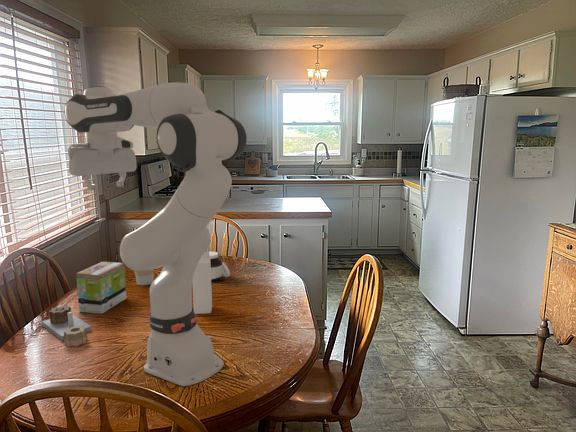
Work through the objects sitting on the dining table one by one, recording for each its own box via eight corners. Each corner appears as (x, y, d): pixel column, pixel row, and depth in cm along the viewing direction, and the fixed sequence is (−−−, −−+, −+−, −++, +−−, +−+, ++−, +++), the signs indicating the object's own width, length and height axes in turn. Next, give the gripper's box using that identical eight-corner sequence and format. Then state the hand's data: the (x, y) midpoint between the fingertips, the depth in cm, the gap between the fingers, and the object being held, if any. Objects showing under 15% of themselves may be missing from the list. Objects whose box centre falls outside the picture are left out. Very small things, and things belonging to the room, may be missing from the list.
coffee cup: (160, 281, 181) (158, 247, 178) (143, 287, 173) (141, 252, 170) (146, 277, 186) (144, 244, 183) (129, 283, 178) (126, 249, 175)
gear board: (91, 330, 136) (89, 311, 134) (62, 340, 129) (60, 321, 128) (70, 316, 146) (68, 299, 145) (42, 325, 139) (40, 307, 138)
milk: (210, 313, 149) (208, 253, 144) (193, 314, 148) (190, 254, 144) (212, 306, 154) (210, 249, 150) (195, 307, 154) (193, 249, 149)
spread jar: (196, 279, 183) (195, 254, 181) (214, 272, 192) (213, 248, 190) (217, 284, 177) (216, 258, 174) (234, 277, 186) (233, 251, 184)
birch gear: (90, 341, 129) (89, 329, 128) (70, 348, 124) (69, 336, 123) (82, 335, 132) (80, 323, 132) (61, 342, 128) (60, 330, 127)
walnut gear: (75, 318, 141) (74, 307, 140) (57, 325, 136) (56, 314, 135) (64, 315, 144) (63, 304, 143) (46, 321, 139) (45, 310, 138)
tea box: (103, 314, 148) (99, 274, 145) (78, 312, 150) (74, 273, 147) (127, 298, 162) (124, 261, 159) (104, 296, 164) (101, 260, 161)
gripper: (72, 143, 116) (77, 193, 119) (137, 142, 132) (140, 185, 135) (62, 143, 120) (67, 191, 123) (126, 142, 136) (129, 184, 139)
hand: (106, 188), depth 129 cm, fingers open, 8 cm apart
